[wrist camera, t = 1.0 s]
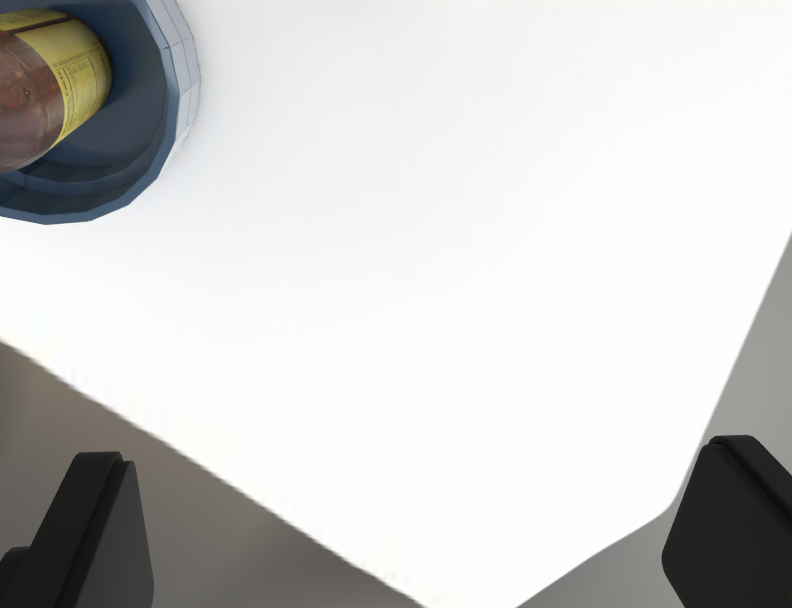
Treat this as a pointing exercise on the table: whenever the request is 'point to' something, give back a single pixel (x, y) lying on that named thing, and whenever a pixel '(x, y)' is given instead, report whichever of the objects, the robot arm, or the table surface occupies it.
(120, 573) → the robot arm
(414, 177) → the table surface
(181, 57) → the navy blue bowl
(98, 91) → the sauce bottle
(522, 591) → the table surface
